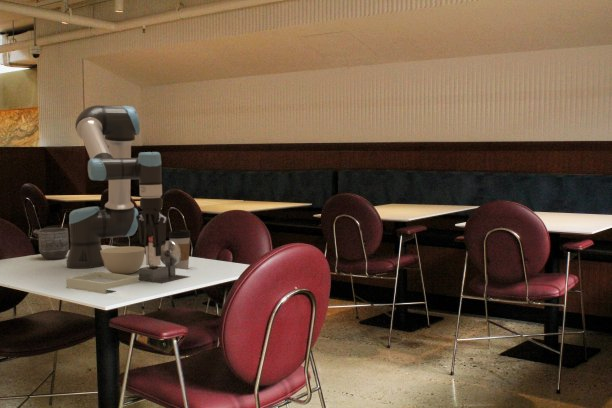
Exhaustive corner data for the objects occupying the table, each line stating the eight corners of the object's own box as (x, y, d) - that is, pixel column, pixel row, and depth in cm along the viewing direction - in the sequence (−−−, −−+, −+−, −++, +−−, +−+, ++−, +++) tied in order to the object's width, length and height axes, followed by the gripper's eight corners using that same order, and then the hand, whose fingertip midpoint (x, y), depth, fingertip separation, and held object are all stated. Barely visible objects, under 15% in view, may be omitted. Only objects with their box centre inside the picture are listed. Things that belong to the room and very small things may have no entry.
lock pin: (147, 279, 235) (146, 237, 234) (154, 278, 238) (152, 236, 236) (153, 280, 234) (152, 237, 233) (159, 278, 236) (158, 236, 235)
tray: (66, 287, 231) (66, 277, 231) (100, 280, 243) (99, 271, 242) (105, 293, 220) (105, 283, 220) (138, 286, 231) (138, 276, 231)
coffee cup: (186, 271, 260) (185, 231, 258) (166, 270, 261) (164, 231, 260) (194, 267, 268) (193, 229, 267) (174, 266, 269) (173, 229, 268)
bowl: (142, 279, 243) (141, 252, 242) (96, 281, 242) (95, 253, 241) (149, 271, 259) (148, 245, 258) (106, 273, 258) (105, 247, 257)
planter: (33, 259, 293) (31, 230, 292) (53, 255, 304) (52, 227, 303) (55, 261, 288) (54, 231, 287) (75, 256, 299) (74, 228, 298)
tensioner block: (129, 283, 237) (127, 243, 236) (159, 276, 249) (157, 238, 247) (161, 287, 228) (160, 246, 227) (191, 280, 240) (189, 241, 238)
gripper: (126, 197, 235) (129, 264, 237) (159, 198, 226) (161, 268, 228) (143, 195, 241) (145, 261, 243) (175, 197, 232) (177, 265, 234)
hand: (153, 264), depth 235 cm, fingers closed on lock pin, 3 cm apart
